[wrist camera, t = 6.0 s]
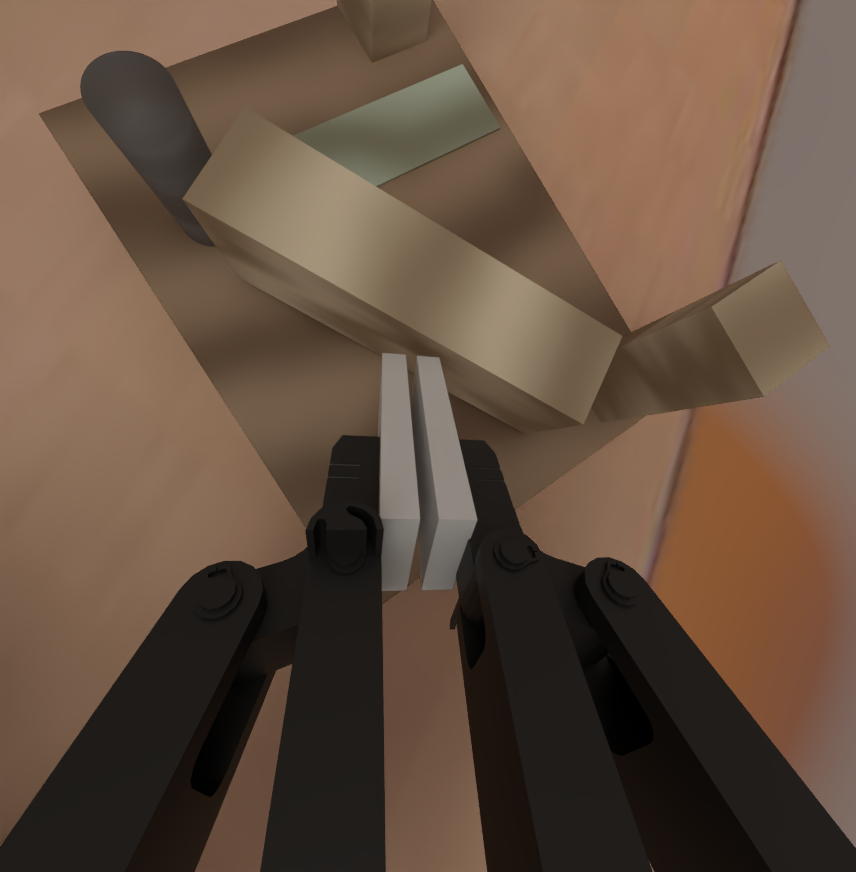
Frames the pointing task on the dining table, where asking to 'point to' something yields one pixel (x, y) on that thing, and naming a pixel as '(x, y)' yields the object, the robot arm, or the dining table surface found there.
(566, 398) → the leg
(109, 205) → the wooden block assembly
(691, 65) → the dining table surface
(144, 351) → the dining table surface
